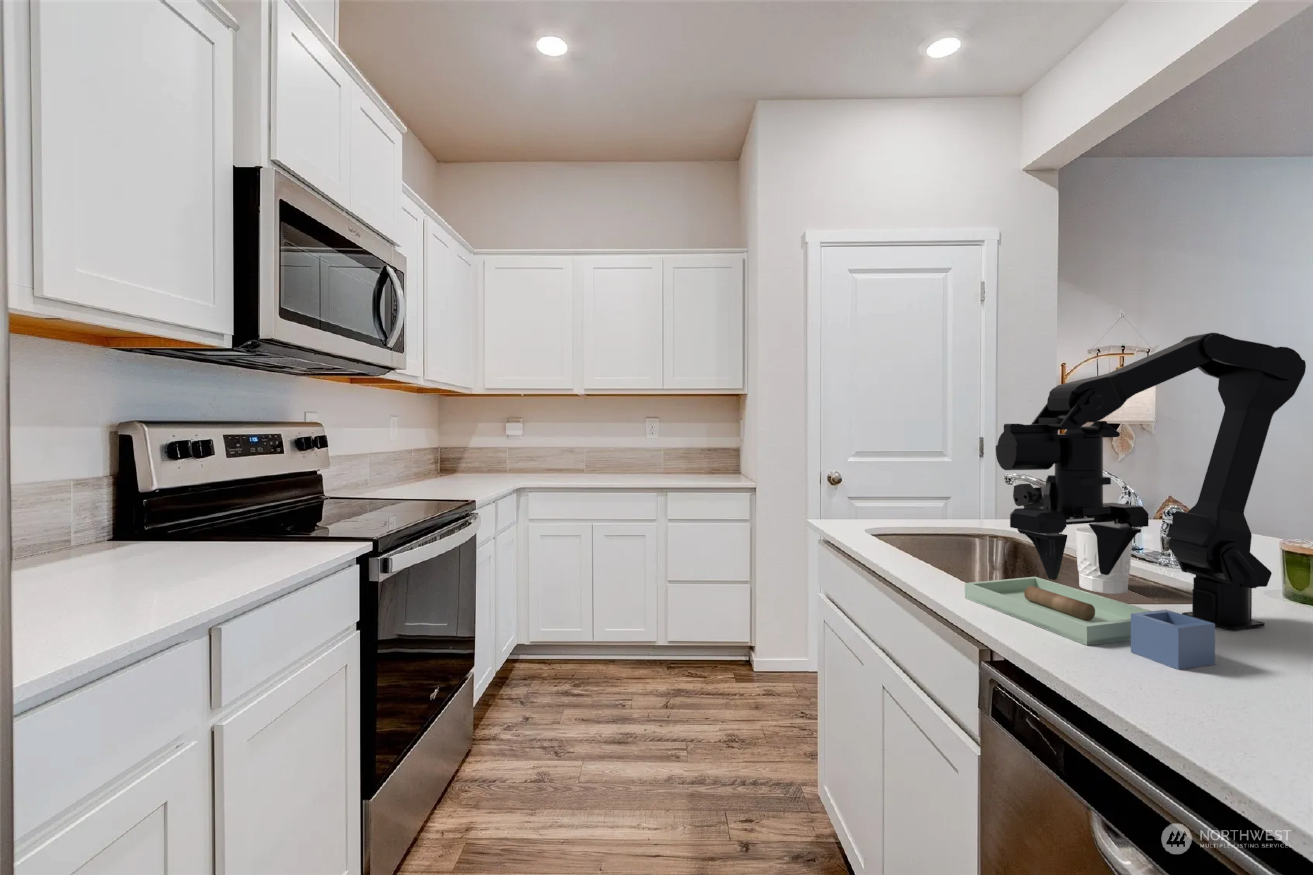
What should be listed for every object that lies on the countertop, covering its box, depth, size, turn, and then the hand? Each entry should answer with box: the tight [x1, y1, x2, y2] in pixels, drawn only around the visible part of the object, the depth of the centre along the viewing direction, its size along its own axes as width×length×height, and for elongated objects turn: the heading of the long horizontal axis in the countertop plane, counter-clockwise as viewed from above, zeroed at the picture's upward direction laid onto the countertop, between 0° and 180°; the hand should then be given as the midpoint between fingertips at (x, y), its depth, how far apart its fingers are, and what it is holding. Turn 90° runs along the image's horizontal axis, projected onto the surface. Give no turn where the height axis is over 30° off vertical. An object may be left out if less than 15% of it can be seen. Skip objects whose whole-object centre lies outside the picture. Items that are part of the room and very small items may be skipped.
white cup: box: [1074, 526, 1133, 595], centre depth 103 cm, size 8×8×10 cm
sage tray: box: [964, 576, 1151, 646], centre depth 91 cm, size 14×22×2 cm, turn 13°
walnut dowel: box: [1024, 586, 1095, 621], centre depth 91 cm, size 2×6×10 cm
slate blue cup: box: [1130, 609, 1216, 670], centre depth 74 cm, size 6×6×5 cm
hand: (1078, 576), depth 87 cm, fingers open, 9 cm apart
